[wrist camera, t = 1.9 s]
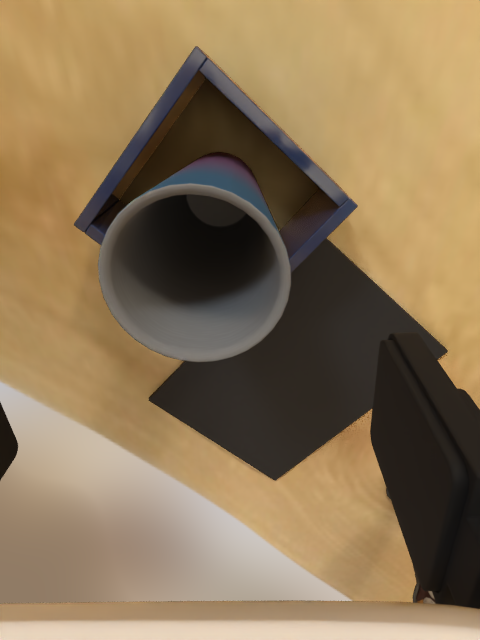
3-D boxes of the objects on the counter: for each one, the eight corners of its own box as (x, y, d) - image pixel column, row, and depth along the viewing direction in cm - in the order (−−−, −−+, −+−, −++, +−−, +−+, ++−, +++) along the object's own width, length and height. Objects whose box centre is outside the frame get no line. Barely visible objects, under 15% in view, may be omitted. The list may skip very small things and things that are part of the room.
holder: (105, 200, 28) (73, 225, 23) (207, 54, 24) (195, 44, 19) (229, 297, 32) (225, 338, 26) (337, 184, 28) (358, 206, 22)
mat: (149, 397, 36) (148, 400, 36) (315, 227, 29) (315, 229, 29) (274, 477, 41) (275, 480, 41) (446, 348, 34) (448, 351, 33)
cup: (246, 255, 30) (245, 384, 17) (155, 218, 29) (78, 326, 16) (288, 163, 27) (326, 233, 14) (188, 118, 26) (127, 146, 13)
